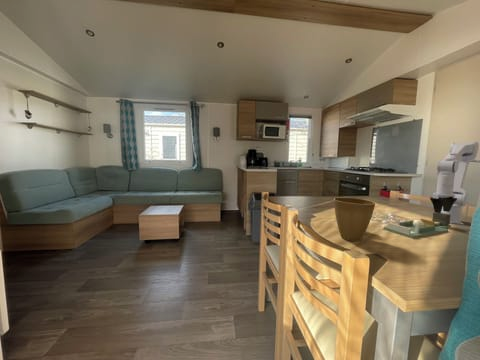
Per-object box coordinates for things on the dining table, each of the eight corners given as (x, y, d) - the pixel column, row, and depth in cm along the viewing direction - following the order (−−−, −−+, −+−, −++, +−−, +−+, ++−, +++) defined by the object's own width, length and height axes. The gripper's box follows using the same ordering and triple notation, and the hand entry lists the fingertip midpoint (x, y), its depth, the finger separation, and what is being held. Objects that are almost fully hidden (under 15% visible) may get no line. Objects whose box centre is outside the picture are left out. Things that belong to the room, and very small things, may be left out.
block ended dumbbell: (436, 221, 105) (437, 212, 105) (449, 224, 100) (450, 214, 100) (419, 224, 100) (420, 214, 100) (432, 227, 95) (433, 217, 95)
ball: (411, 226, 98) (412, 218, 98) (422, 227, 96) (423, 219, 96) (413, 228, 95) (414, 220, 95) (424, 230, 93) (425, 221, 93)
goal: (396, 226, 97) (397, 218, 97) (418, 233, 89) (419, 224, 88) (387, 228, 95) (388, 219, 94) (409, 235, 86) (410, 225, 86)
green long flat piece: (428, 222, 109) (429, 216, 108) (459, 229, 97) (459, 223, 97) (383, 229, 96) (384, 223, 96) (412, 238, 85) (413, 231, 85)
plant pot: (379, 247, 76) (382, 205, 74) (336, 243, 79) (339, 202, 77) (363, 233, 91) (366, 197, 89) (328, 230, 94) (330, 196, 92)
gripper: (443, 183, 106) (440, 209, 108) (426, 184, 101) (423, 210, 103) (461, 185, 100) (458, 212, 101) (444, 186, 95) (441, 214, 96)
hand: (441, 211), depth 101 cm, fingers open, 7 cm apart
